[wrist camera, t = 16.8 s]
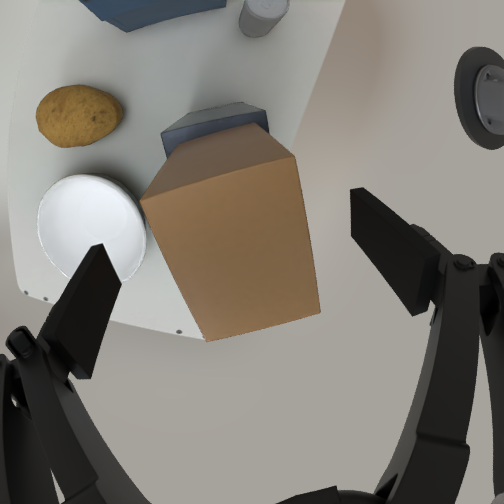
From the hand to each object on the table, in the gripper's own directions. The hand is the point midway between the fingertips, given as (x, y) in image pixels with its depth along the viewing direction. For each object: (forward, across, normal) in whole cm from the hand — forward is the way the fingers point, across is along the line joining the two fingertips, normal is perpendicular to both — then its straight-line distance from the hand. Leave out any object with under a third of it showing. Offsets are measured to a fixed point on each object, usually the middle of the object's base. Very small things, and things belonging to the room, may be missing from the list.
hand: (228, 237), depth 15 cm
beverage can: (+31, +8, +17) cm, 37 cm away
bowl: (+32, -22, -7) cm, 39 cm away
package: (+9, 0, 0) cm, 9 cm away
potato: (+32, -19, +10) cm, 38 cm away
